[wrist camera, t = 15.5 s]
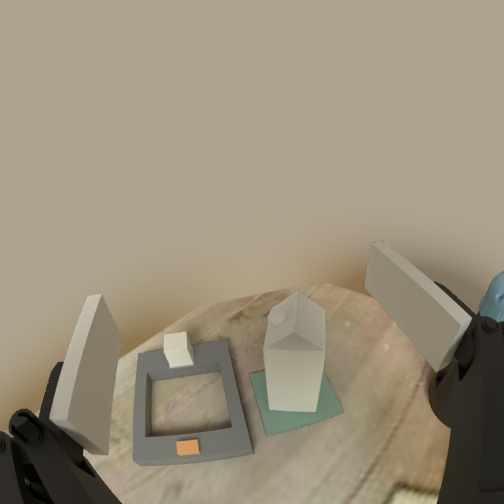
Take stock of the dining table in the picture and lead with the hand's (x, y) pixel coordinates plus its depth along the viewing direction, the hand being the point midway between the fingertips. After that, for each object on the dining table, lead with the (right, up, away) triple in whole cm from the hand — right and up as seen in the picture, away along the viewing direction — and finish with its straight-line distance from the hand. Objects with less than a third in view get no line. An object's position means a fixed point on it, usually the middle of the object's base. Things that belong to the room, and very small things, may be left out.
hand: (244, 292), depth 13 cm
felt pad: (+7, -21, +27) cm, 35 cm away
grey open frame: (-10, -23, +27) cm, 37 cm away
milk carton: (+7, -21, +27) cm, 35 cm away
